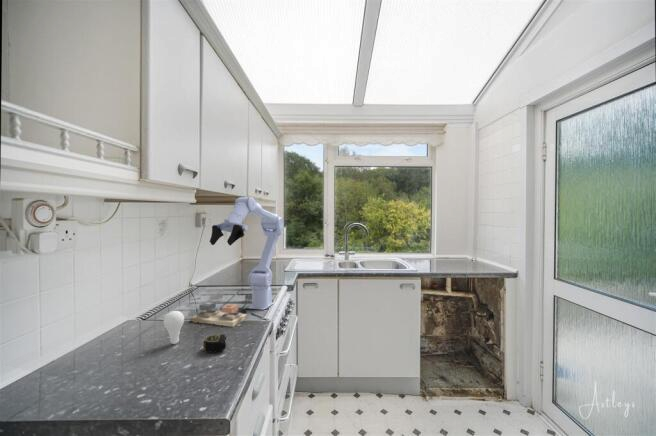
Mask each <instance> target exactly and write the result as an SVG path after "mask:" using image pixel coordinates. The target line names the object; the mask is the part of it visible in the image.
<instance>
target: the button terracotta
mask: <svg viewBox="0 0 656 436" xmlns="http://www.w3.org/2000/svg"><path fill="white" fill-rule="evenodd" d="M221 308H222V311H221V312H225V313H233V312H236V311H237V312H238V311H239V304H235V303H234V304H233V303H227V304H226V305H223V306H222V307H221Z"/></svg>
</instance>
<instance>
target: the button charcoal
mask: <svg viewBox="0 0 656 436" xmlns="http://www.w3.org/2000/svg"><path fill="white" fill-rule="evenodd" d="M216 305H217V304H216V302H214V301H205V302H204V303H201V304H199V309H198V310H200V311H204V310H206V311H209V310H214V309H215V308H216Z"/></svg>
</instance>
